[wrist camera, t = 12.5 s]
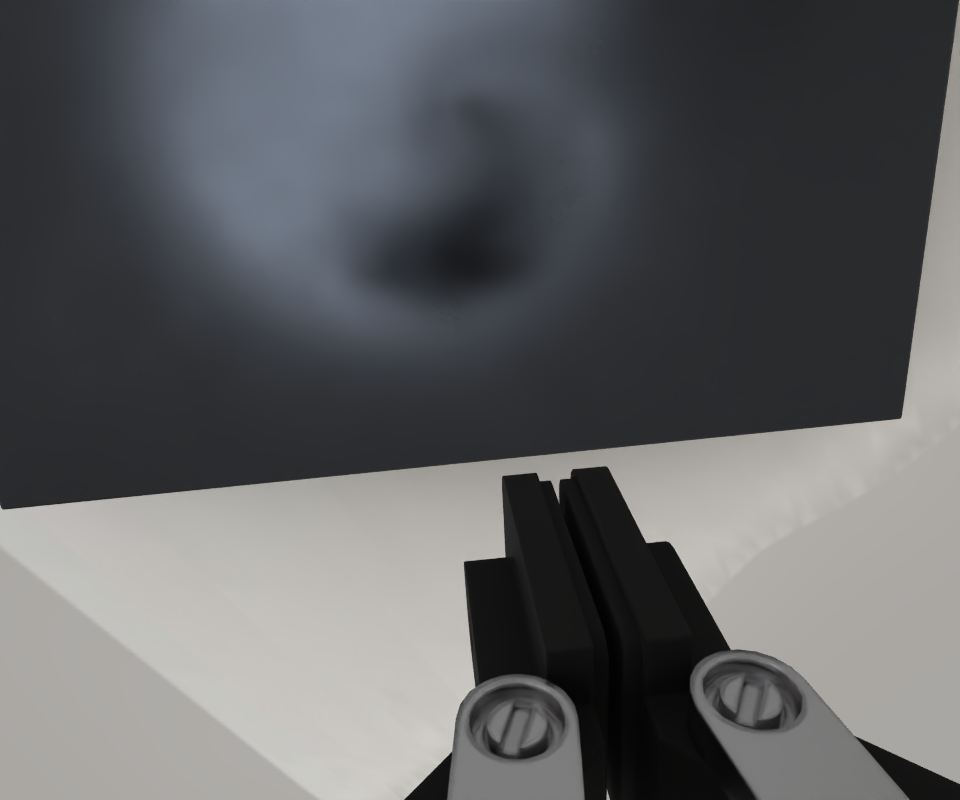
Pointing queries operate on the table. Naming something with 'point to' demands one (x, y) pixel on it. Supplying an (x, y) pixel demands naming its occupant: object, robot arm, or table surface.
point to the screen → (449, 230)
